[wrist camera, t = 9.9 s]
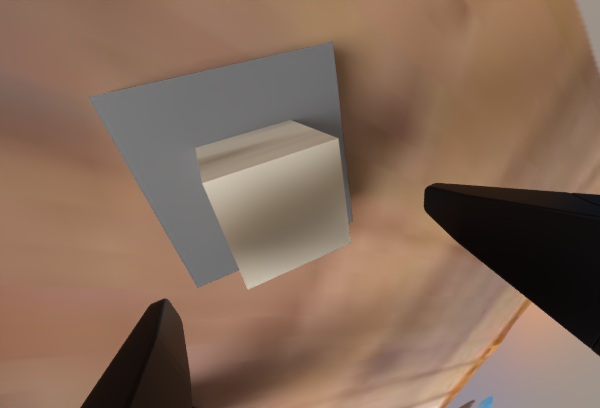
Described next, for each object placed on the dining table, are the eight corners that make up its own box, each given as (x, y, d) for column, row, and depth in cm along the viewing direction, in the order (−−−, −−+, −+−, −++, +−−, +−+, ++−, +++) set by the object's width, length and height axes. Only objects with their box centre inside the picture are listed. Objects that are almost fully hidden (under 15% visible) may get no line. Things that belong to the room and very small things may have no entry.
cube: (307, 200, 16) (350, 243, 12) (229, 230, 15) (247, 289, 11) (290, 119, 14) (338, 138, 9) (195, 147, 12) (202, 183, 8)
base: (332, 204, 21) (352, 221, 18) (195, 259, 18) (197, 287, 16) (308, 47, 15) (332, 41, 13) (106, 93, 13) (88, 97, 10)
